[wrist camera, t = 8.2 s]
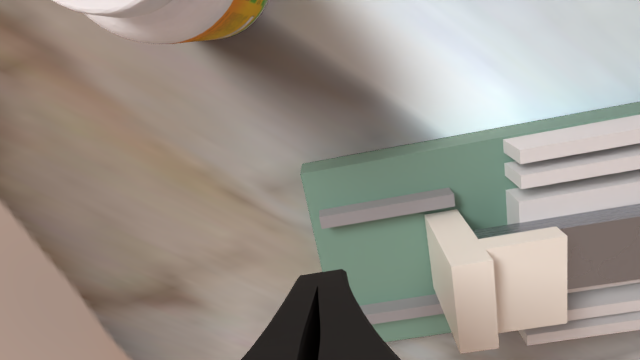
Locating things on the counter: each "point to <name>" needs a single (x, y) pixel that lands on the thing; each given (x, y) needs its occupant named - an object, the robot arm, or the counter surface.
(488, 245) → the clip
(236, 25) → the supplement bottle
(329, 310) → the robot arm
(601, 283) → the strap
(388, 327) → the heatsink board
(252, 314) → the counter surface
